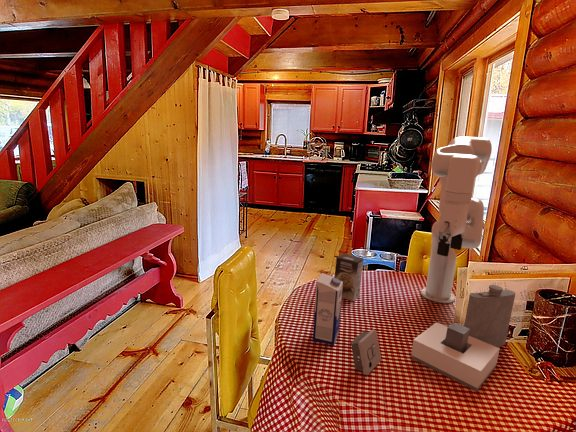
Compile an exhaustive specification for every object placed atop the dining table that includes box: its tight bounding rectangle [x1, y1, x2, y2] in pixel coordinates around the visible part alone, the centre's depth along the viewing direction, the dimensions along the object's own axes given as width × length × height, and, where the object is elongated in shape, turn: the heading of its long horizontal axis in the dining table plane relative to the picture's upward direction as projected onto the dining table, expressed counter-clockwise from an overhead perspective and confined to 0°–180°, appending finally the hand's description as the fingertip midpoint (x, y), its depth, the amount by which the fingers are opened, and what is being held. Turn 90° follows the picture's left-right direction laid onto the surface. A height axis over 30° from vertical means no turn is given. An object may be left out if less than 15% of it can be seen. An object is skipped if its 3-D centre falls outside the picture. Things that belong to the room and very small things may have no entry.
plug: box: [445, 322, 470, 354], centre depth 100 cm, size 4×4×10 cm
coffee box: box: [334, 253, 364, 302], centre depth 139 cm, size 9×6×16 cm
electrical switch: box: [350, 329, 382, 376], centre depth 98 cm, size 9×5×9 cm, turn 141°
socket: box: [410, 322, 501, 393], centre depth 101 cm, size 15×18×6 cm
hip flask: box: [463, 284, 516, 348], centre depth 108 cm, size 16×4×20 cm, turn 106°
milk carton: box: [312, 272, 343, 346], centre depth 109 cm, size 7×7×20 cm
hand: (449, 252), depth 110 cm, fingers open, 9 cm apart
